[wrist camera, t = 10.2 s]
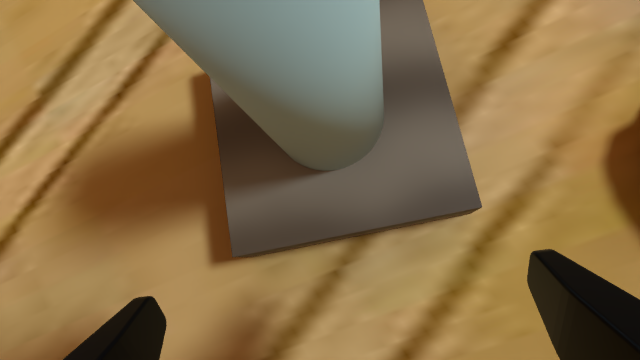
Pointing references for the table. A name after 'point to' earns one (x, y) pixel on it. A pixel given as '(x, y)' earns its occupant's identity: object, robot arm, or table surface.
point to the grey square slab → (363, 176)
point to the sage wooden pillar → (290, 68)
